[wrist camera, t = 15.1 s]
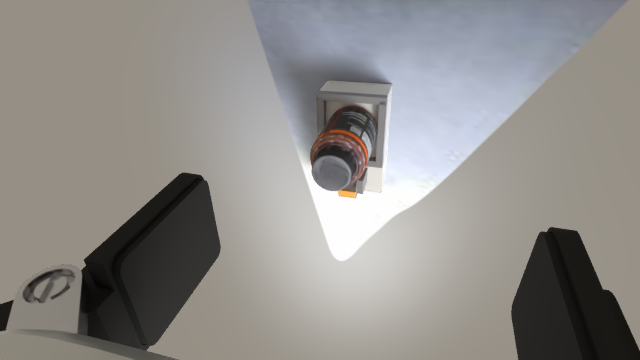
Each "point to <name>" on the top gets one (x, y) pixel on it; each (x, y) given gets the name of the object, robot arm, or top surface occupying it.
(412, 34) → the top surface
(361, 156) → the supplement bottle
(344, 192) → the breaker lever
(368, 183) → the box
